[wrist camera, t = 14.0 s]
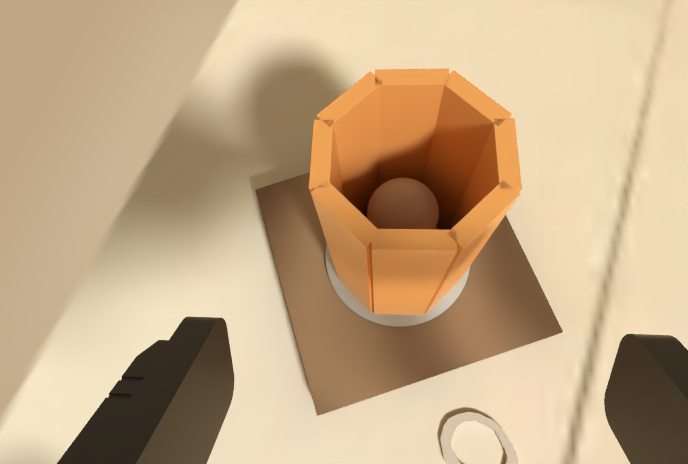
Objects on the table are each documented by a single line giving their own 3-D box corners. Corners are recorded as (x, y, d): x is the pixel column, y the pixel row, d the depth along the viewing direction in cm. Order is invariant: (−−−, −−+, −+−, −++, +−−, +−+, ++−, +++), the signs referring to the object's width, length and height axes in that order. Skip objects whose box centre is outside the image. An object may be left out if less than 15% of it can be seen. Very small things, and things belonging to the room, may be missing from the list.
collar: (456, 200, 23) (509, 67, 14) (462, 316, 21) (528, 251, 12) (340, 199, 24) (317, 70, 15) (335, 312, 22) (304, 247, 12)
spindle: (457, 139, 27) (490, 30, 19) (551, 336, 22) (644, 302, 15) (261, 201, 26) (212, 116, 18) (321, 414, 22) (289, 422, 14)
